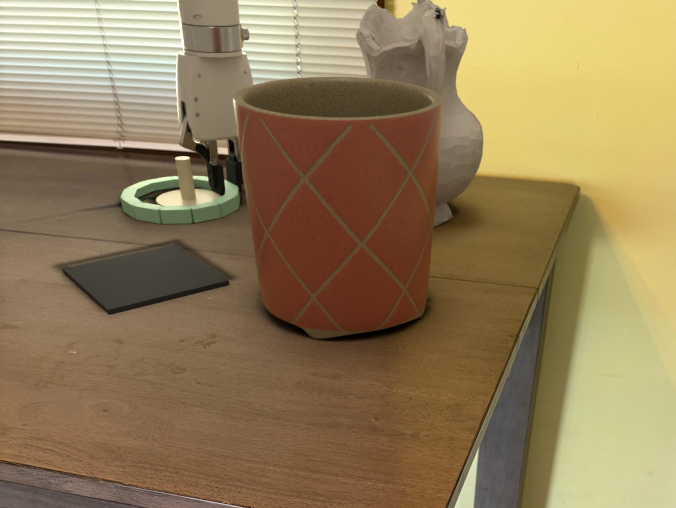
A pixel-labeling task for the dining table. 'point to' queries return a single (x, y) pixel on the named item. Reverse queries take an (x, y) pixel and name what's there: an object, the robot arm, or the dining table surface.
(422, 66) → the ceramic pitcher
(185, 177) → the ring holder
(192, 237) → the dining table surface
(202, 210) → the ring
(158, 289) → the mat
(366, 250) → the planter
